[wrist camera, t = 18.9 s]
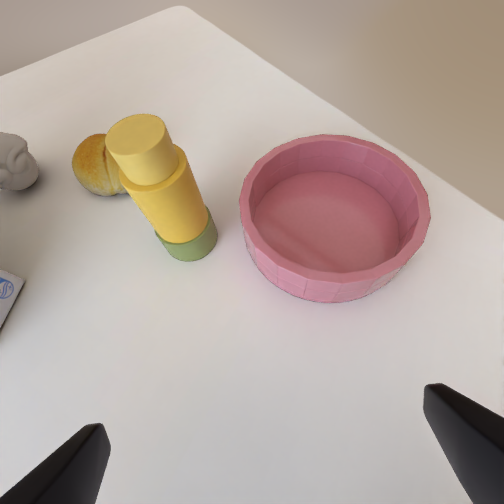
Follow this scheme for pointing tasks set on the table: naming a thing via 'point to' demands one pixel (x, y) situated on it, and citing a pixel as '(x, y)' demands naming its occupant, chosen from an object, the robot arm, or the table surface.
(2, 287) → the string lights box
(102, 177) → the bread roll
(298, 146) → the bowl
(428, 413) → the robot arm
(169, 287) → the table surface
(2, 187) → the grey lumpy round lump
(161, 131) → the yellow stepped cylinder
